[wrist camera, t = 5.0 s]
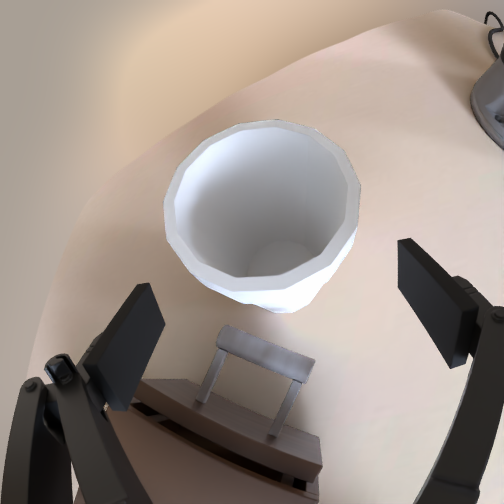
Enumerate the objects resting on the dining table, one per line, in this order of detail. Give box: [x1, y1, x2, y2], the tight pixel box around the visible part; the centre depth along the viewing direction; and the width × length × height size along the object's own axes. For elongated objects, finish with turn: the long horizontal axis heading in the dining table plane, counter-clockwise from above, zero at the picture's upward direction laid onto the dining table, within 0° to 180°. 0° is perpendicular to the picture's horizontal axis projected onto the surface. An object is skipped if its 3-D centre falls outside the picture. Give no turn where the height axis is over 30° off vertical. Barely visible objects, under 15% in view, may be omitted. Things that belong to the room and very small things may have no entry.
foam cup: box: [163, 119, 361, 313], centre depth 20 cm, size 10×9×13 cm
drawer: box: [133, 325, 323, 487], centre depth 17 cm, size 19×11×8 cm, turn 156°
